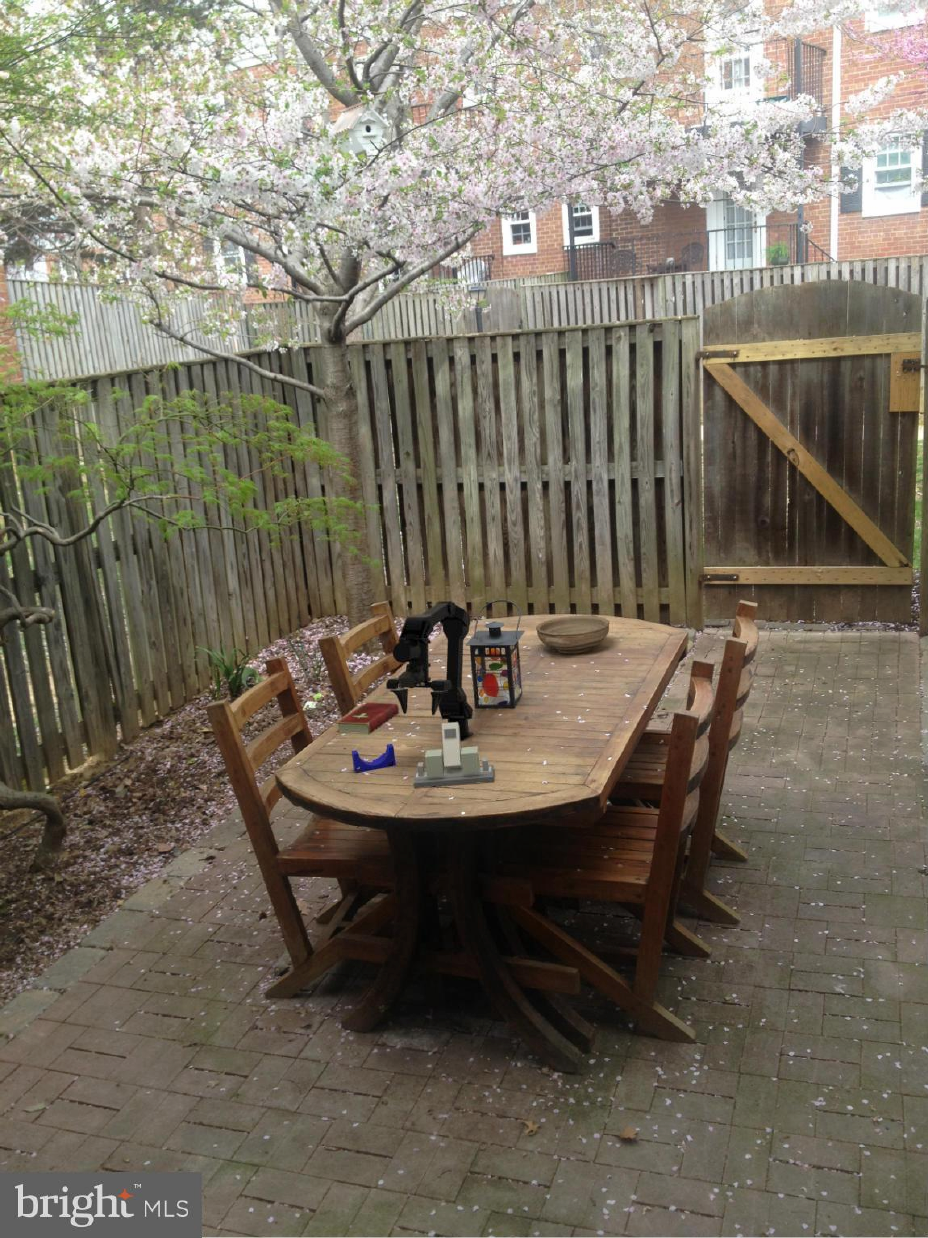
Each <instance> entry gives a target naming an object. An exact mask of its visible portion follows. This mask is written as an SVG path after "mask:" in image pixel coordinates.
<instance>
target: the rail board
mask: <svg viewBox="0 0 928 1238" xmlns="http://www.w3.org/2000/svg"><path fill="white" fill-rule="evenodd" d="M479 755H480V754H479V746H477V745H476V746H467V747H465V746H464V747H461V760H462V768H451V769H446V768H445V766H444V753H443V748H442V749H429V750H428V749H427V750H425V755H424V760H425V761H423V762H421V761H420V762H417V765H416V767H417V770H416V771H415V775H414V779H413V780H414V781H413V788H414V789H419V788H418V787H424V786H437V787H447V786H446V785H448V786H460V785H459V784H462V785H471V784H470V783H475V784H478V783H477V782H487V783H494V782H495V781H494V779H495V768H494V767H495V766H494V764H489V759H488V758H489V757H488V756H487V757H486V756H485V757H482V758H481V764H482V765H481V764H480V756H479ZM424 763H425V764H424ZM424 788H425V787H424Z"/></svg>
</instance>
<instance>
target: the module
mask: <svg viewBox="0 0 928 1238" xmlns="http://www.w3.org/2000/svg"><path fill="white" fill-rule="evenodd" d="M441 733H442V753H443V762H444V769H451V768H462V758H461V750H462V747H461V746H462V745H461V740H460V731H459V724H458V722H453V723H448V722H443V723H441Z"/></svg>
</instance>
